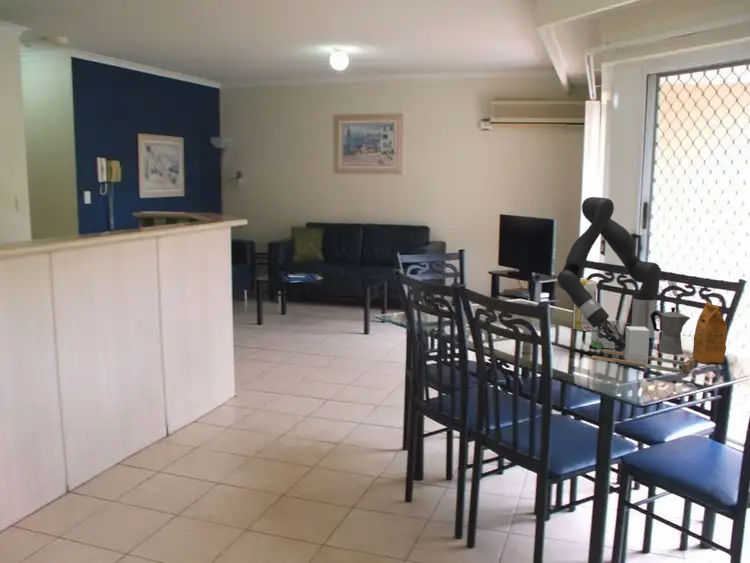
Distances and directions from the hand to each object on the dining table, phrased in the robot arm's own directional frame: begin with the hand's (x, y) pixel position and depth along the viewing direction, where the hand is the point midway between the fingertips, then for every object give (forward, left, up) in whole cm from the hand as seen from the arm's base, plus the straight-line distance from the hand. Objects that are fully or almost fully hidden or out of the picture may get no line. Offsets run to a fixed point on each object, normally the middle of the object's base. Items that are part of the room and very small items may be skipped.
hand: (623, 348), depth 259 cm
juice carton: (-42, -31, -5) cm, 53 cm away
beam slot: (0, +7, -4) cm, 8 cm away
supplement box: (-1, +5, -5) cm, 6 cm away
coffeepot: (-24, +10, -5) cm, 27 cm away
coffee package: (-18, +26, -5) cm, 32 cm away
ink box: (-15, -13, -5) cm, 21 cm away
